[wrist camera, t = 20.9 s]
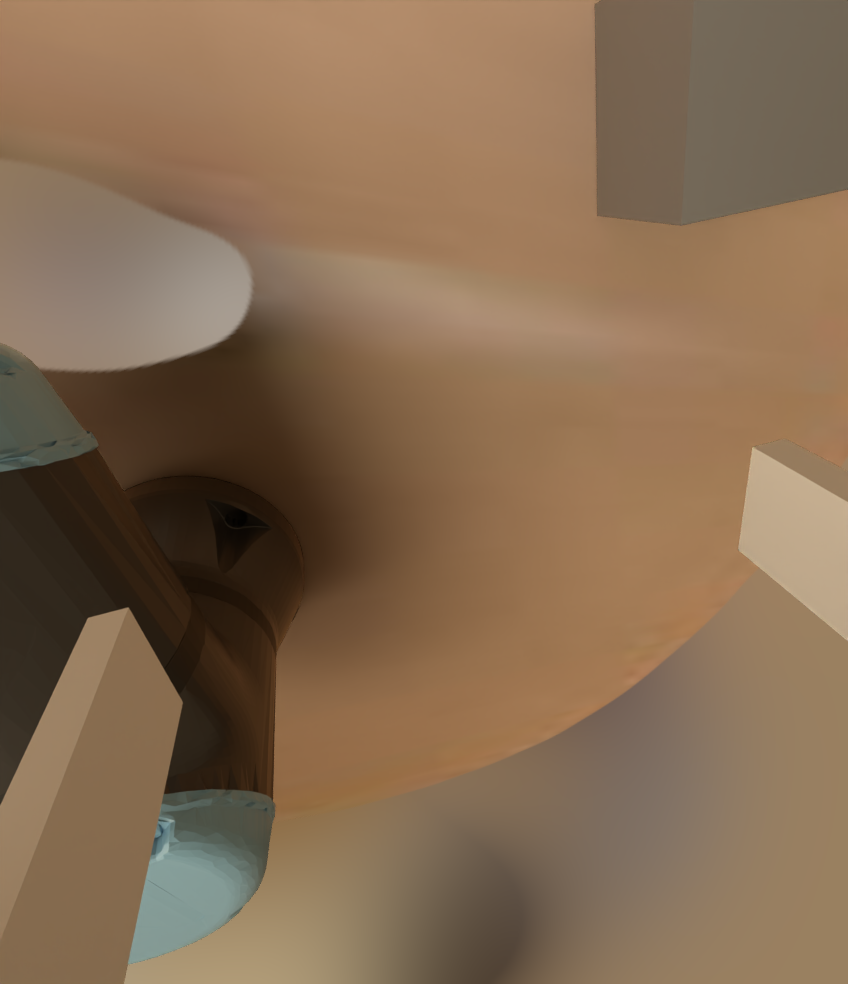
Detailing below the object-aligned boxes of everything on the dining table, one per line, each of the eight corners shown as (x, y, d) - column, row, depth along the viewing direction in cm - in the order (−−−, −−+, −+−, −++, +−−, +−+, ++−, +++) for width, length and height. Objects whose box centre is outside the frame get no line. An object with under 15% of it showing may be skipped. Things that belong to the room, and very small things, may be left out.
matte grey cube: (748, 183, 36) (870, 184, 28) (597, 215, 35) (681, 225, 28) (771, -28, 31) (927, -95, 23) (594, 4, 30) (696, -56, 22)
